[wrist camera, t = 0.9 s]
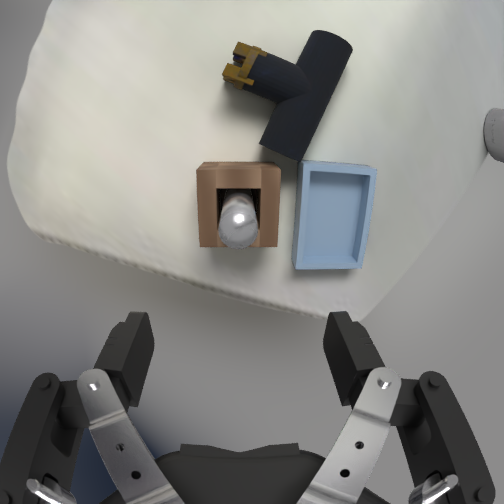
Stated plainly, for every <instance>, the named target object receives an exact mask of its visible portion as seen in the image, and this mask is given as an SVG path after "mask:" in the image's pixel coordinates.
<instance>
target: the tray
mask: <svg viewBox="0 0 504 504" xmlns="http://www.w3.org/2000/svg"><path fill="white" fill-rule="evenodd" d="M376 175H377V169H375V168H372V167H370V166H367V165H358V164H348V163H337V162H324V161H309V160H302V161H301V162H298V175H297V192H296V208H295V222H294V235H293V248H292V261H293V264H294V267H295V269H296V270H297V269H354V268H362V264H363V259H364V254H365V249H366V243H367V238H368V232H369V226H370V220H371V213H372V206H373V199H374V192H375V183H376Z"/></svg>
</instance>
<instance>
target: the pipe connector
mask: <svg viewBox="0 0 504 504" xmlns="http://www.w3.org/2000/svg"><path fill="white" fill-rule="evenodd" d="M352 51H353V49H352V46H351V45H350V44H349V43H348V42H347V41H346V40H344V39H343V38H341V37H339V36H337V35H335V34H333V33H330V32H327V31H322V30H315V31H313V32H312V33H311V35H310V37H309V39H308V41H307V43H306V45H305V47H304V49H303V51H302V53H301V55H300V57H299V59H298V61H297V63H296V65H295V64H293V63H291V62H288V61H286V60H284V59H282V58H279V57H277V56H275V55H272V54H270V53H267V52H265V51H262V50H261V48H258V47H255V46H253V47H252V46H249V45H246V44H244V43H241V42H238V43H237V45H236V47H235V49H234V51H233V55H234V57H233V61H236V62H239V63H242V64H243V65H242V67H241V68H240V67H238V66H235V65H232V64H229V63H227V65H226V67H225V69H224V71H223V73H222V75H223V76H224V78H223V79H224V80H225V81H228V82H231V83H233V84H234V87H235V88H237V89H240V90H242V89H244V90H246V91H249V92H251V93H254V94H256V95H259V96H261V97H264V98H266V99H268V100H271V101H273V102H275V103H277V105H276V107H275V110H274V112H273V114H272V116H271V118H270V120H269V123H268V125H267V127H266V129H265V131H264V134H263V136H262V138H261V140H260V142H259V144H260V145H262V146H265V147H267V148H269V149H271V150H273V151H276V152H278V153H280V154H282V155H285V156H287V157H289V158H291V159H294V160H296V161H298V162H301V161H302V158H303V156H304V154H305V152H306V150H307V148H308V146H309V144H310V141H311V139H312V137H313V135H314V133H315V131H316V129H317V126H318V124H319V122H320V120H321V118H322V116H323V114H324V111H325V109H326V107H327V105H328V103H329V101H330V99H331V96H332V94H333V92H334V90H335V88H336V86H337V83H338V81H339V79H340V77H341V75H342V73H343V70H344V68H345V66H346V64H347V62H348V60H349V57H350V55H351V53H352Z"/></svg>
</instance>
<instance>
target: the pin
mask: <svg viewBox="0 0 504 504" xmlns="http://www.w3.org/2000/svg"><path fill="white" fill-rule="evenodd" d="M218 232H219V237H220V239H221V240H222V242H223V243H224V244H225V245H227V246H228V247H230V248H233V249H243V248H246V247H248V246H250V245H251V244H252V243H253V242H254V241H255V240H256V238H257V235H258V226H257V220H256V214H255V209H254V203H253V197H252V192H251V189H250V188H227V190H226V193H225V198H224V203H223V208H222V213H221V218H220V223H219V229H218Z"/></svg>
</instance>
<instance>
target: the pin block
mask: <svg viewBox="0 0 504 504" xmlns="http://www.w3.org/2000/svg"><path fill="white" fill-rule="evenodd" d="M196 174H197V202H198V223H199V241H200V247H228V246H227V245H225V244H224V243H223V242H222V240H221V239H220V237H219V232H218V229H219V223H220V218H221V206H220V188H257V213H255V214H256V220H257V226H258V235H257V238H256V240H255V241H254V242H253V243H252V244H251V245H250V246H248V247H277V242H278V224H279V204H280V182H281V169H280V168H279V167H278V166H277V165H276V164H275V163H274V162H204V163H203V164H202V165H201V166H200V167H199V168H198V169H197V170H196Z"/></svg>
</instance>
